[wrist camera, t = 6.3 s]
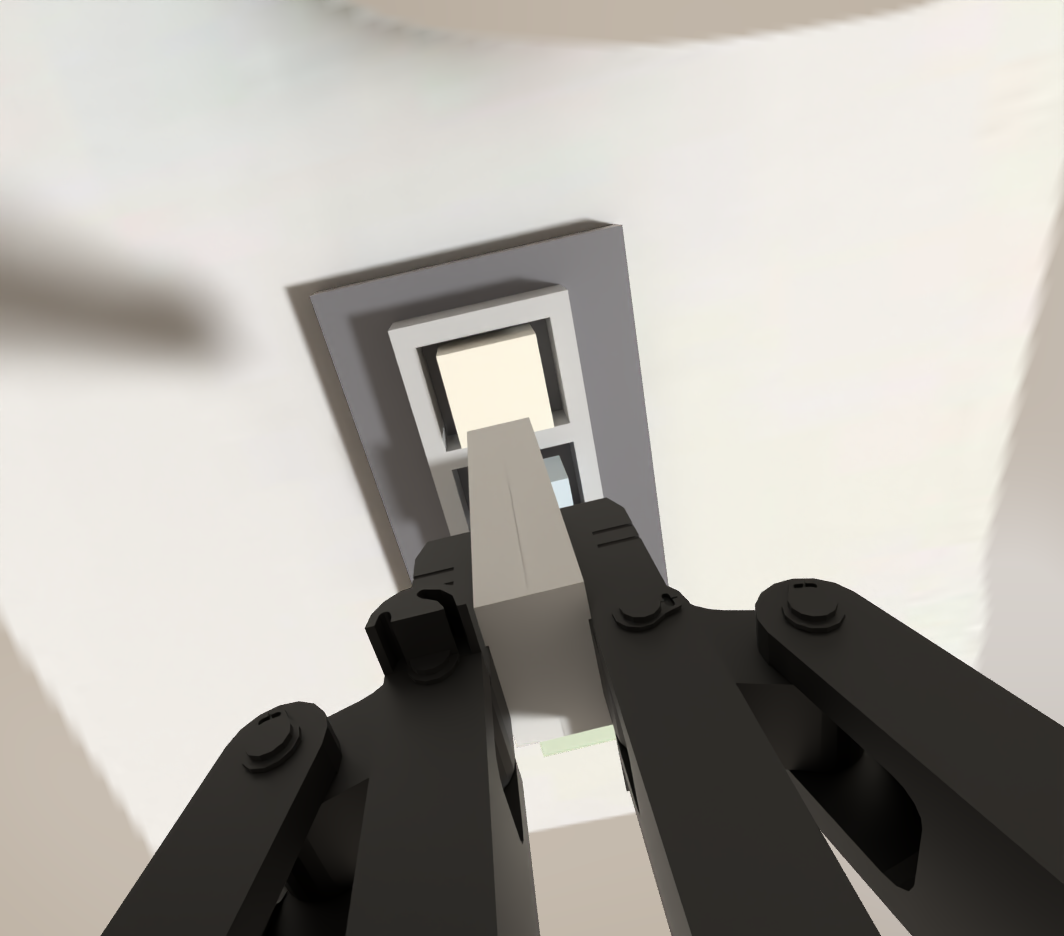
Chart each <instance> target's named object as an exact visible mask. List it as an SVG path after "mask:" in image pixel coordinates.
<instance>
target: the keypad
mask: <svg viewBox="0 0 1064 936" xmlns="http://www.w3.org/2000/svg"><path fill="white" fill-rule="evenodd" d="M310 299H311V302H312V305H313V307H314V310H315V313H316V316H317V319H318V322H319V324H320V327H321V330H322V333H323V336H324V338H325V341H326V344H327V347H328V350H329V352H330V355H331V358H332V361H333V364H334V366H335V369H336V372H337V375H338V378H339V381H340V383H341V386H342V389H343V392H344V395H345V397H346V400H347V403H348V406H349V409H350V411H351V414H352V417H353V420H354V423H355V425H356V428H357V431H358V434H359V437H360V440H361V442H362V445H363V448H364V451H365V454H366V456H367V459H368V462H369V465H370V468H371V470H372V473H373V476H374V479H375V482H376V485H377V487H378V490H379V493H380V496H381V499H382V501H383V504H384V507H385V510H386V513H387V515H388V518H389V521H390V524H391V527H392V529H393V532H394V535H395V538H396V541H397V544H398V546H399V549H400V552H401V555H402V558H403V560H404V563H405V566H406V569H407V572H408V574H409V577H410V580H411V583H412V581H413V580H414V579H413V573H414V564H415V559H416V557H417V556H418V554H419V553H420V552H421V550H422V549H423V547H424V546H425V545H426V543H427V542H428V541H432V540H437V539H441V538H445V537H449V536H453V535H458V534H462V533H466V532H470V531H471V527H470V501H469V475H468V450H467V448H463V449H462V448H461V444H460V441H459V437H458V434H457V430H456V426H455V423H454V419H453V416H452V412H451V408H450V405H449V401H448V398H447V394H446V390H445V387H444V383H443V380H442V376H441V372H440V369H439V365H438V362H437V358H436V355H437V349H438V344H440V343H444V342H448V341H453V340H457V339H462V338H466V337H470V336H475V335H479V334H483V333H488V332H492V331H496V330H501V329H505V328H509V327H514V326H518V325H522V324H527V323H529V324H530V325H531V327H532V329H533V330H534V332H535V334H536V338H537V343H538V348H539V353H540V358H541V363H542V368H543V373H544V378H545V383H546V388H547V393H548V398H549V403H550V408H551V413H552V418H553V423H554V427H553V428H549V429H545V430H540V431H536V432H534V433H535V436H536V439H537V442H538V445H539V448H540V451H541V454H542V457H543V459H545V458H549V457H553V456H558V455H559V456H560V459H561V461H562V464H563V466H564V469H565V471H566V474H567V476H568V479H569V484H570V489H571V494H572V500H573V505H576V504H580V503H584V502H589V501H593V500H597V499H601V498H606V497H607V498H609V499H610V500H612V501H614V502H615V503H617V504H619V505H621V506H622V507H624V508H625V510H626V512H627V514H628V516H629V518H630V519H631V521H632V524H633V526H634V527H635V529H636V530H637V532H638V534H639V537H640V538H641V539H642V541H643V543H644V545H645V547H646V549H647V550H648V552H649V554H650V556H651V558H652V560H653V561H654V563H655V565H656V567H657V569H658V571H659V572H660V574H661V576H662V578H663V580H664V582H665V583H666V585H667V586H668V579H667V571H666V563H665V555H664V547H663V540H662V532H661V524H660V516H659V508H658V501H657V493H656V485H655V477H654V469H653V462H652V454H651V446H650V438H649V431H648V423H647V415H646V407H645V399H644V392H643V384H642V376H641V368H640V360H639V353H638V345H637V337H636V329H635V321H634V314H633V306H632V298H631V290H630V282H629V275H628V267H627V259H626V251H625V243H624V236H623V228H622V225H617V224H614V225H609V226H605V227H601V228H596V229H592V230H587V231H583V232H579V233H574V234H570V235H565V236H561V237H557V238H552V239H548V240H543V241H539V242H535V243H530V244H526V245H521V246H517V247H513V248H508V249H504V250H499V251H495V252H491V253H486V254H482V255H477V256H473V257H469V258H464V259H460V260H455V261H451V262H447V263H442V264H438V265H433V266H429V267H425V268H420V269H416V270H411V271H407V272H403V273H398V274H394V275H389V276H385V277H381V278H376V279H372V280H367V281H363V282H359V283H354V284H350V285H345V286H341V287H337V288H332V289H328V290H323V291H319V292H316V293H314V294H312V295H310ZM512 734H513V733H512ZM513 737H514V736H513Z"/></svg>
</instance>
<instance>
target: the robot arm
mask: <svg viewBox="0 0 1064 936" xmlns="http://www.w3.org/2000/svg"><path fill="white" fill-rule="evenodd" d="M467 450H468V475H469V501H470V527H471V531H470V532H466V533H462V534H458V535H453V536H449V537H445V538H441V539H437V540H432V541H428V542H427V543H426V545H425V546H424V547H423V549H422V550H421V552H420V553H419V554H418V556H417V557H416V559H415V564H414V573H413V579H414V580H413V581H412V588H409V589H406V590H404V591H401V592H399V593H397V594H396V595H394V596H393V597H391V598H389V599H388V600H386V601H384V602H383V603H382V604H381V605H380V606H379V607H378V608H377V609H376V610H375V611H374V612H373V613H372V614H371V616H370V618H369V620H368V622H367V625H366V627H365V630H366V632H367V635H368V637H369V639H370V642H371V644H372V647H373V649H374V651H375V654H376V656H377V658H378V661H379V663H380V666H381V668H382V670H383V673H384V675H385V677H384V684H383V685H382V686H381V687H380V688H379V689H377V690H376V691H375V692H374V693H372V694H371V695H369V696H367V697H366V698H364V699H362V700H361V701H359V702H357V703H355V704H353V705H351V706H349V707H347V708H345V709H343V710H341V711H339V712H337V713H335V714H333V715H331V716H329V717H327V716H326V714H325V712H324V711H323V710H321V709H320V708H319V707H318V706H317V705H315V704H314V703H307V702H299V701H298V702H293V703H289V704H284V705H280V706H277V707H275V708H273V709H271V710H269V711H267V712H265V713H263V714H261V715H259V716H258V717H256V718H255V719H254V720H253V721H251V722H250V723H249V724H247V725H246V726H245V727H243V728H242V729H241V730H240V731H239V732H238V733H237V735H236V736H235V737H234V738H233V739H232V740H231V742H230V743H229V744H228V745H227V746H226V747H225V749H224V751H223V752H222V754H221V755H220V757H219V758H218V760H217V761H216V763H215V764H214V766H213V767H212V769H211V770H210V772H209V773H208V775H207V776H206V778H205V779H204V781H203V782H202V784H201V785H200V787H199V788H198V790H197V791H196V793H195V794H194V796H193V797H192V799H191V800H190V802H189V803H188V805H187V806H186V808H185V809H184V811H183V812H182V814H181V815H180V817H179V818H178V820H177V821H176V823H175V824H174V826H173V827H172V829H171V830H170V832H169V833H168V835H167V836H166V838H165V839H164V841H163V842H162V844H161V846H160V847H159V849H158V850H157V852H156V853H155V855H154V856H153V858H152V859H151V861H150V862H149V864H148V866H147V867H146V868H145V870H144V871H143V873H142V874H141V876H140V877H139V879H138V880H137V882H136V883H135V885H134V886H133V888H132V889H131V891H130V892H129V894H128V895H127V897H126V898H125V900H124V901H123V903H122V904H121V906H120V908H119V909H118V910H117V912H116V914H115V915H114V916H113V918H112V919H111V921H110V923H109V924H108V926H107V927H106V929H105V930H104V931H103V933H102V935H101V936H540V931H539V922H538V913H537V905H536V897H535V887H534V879H533V870H532V861H531V852H530V844H529V835H528V826H527V817H526V809H525V800H524V791H523V782H522V778H521V775H520V772H519V769H518V766H517V763H516V759H515V753H514V744H513V736H514V740H515V743H516V746H517V748H519V747H523V746H527V745H531V744H535V743H539V742H543V741H547V740H551V739H555V738H560V737H564V736H568V735H572V734H576V733H580V732H584V731H588V730H592V729H596V728H600V727H604V726H608V725H613V727H614V731H615V735H616V740H617V745H618V750H619V755H620V760H621V765H622V770H623V775H624V780H625V785H626V790H627V791H630V794H631V797H632V801H633V804H634V808H635V811H636V814H637V818H638V821H639V825H640V828H641V831H642V835H643V839H644V842H645V845H646V849H647V852H648V856H649V859H650V863H651V866H652V870H653V873H654V877H655V880H656V883H657V887H658V890H659V894H660V897H661V901H662V904H663V908H664V911H665V915H666V918H667V922H668V925H669V929H670V932H671V935H672V936H881V935H880V933H879V932H878V930H877V928H876V926H875V925H874V923H873V921H872V919H871V918H870V916H869V914H868V913H867V911H866V909H865V907H864V905H863V904H862V902H861V900H860V899H859V897H858V895H857V893H856V892H855V890H854V888H853V886H852V885H851V883H850V881H849V880H848V878H847V876H846V874H845V872H844V871H843V869H842V867H841V866H840V864H839V862H838V860H837V859H836V857H835V855H834V853H833V852H832V850H831V848H830V846H829V845H828V843H827V841H826V839H825V838H824V836H823V834H824V835H825V836H826V837H827V838H828V840H829V841H830V842H831V843H832V844H833V845H834V846H835V847H836V849H837V850H838V851H839V852H840V853H841V855H842V856H843V857H844V858H845V859H846V860H847V861H848V863H849V864H850V865H851V866H852V867H853V868H854V870H855V871H856V872H857V873H858V874H859V875H860V876H861V878H862V879H863V880H864V881H865V882H866V883H867V884H868V886H869V887H870V888H871V889H872V890H873V891H874V892H875V894H876V895H877V896H878V897H879V898H880V899H881V900H882V902H883V903H884V904H885V905H886V906H887V907H888V909H889V910H890V911H891V912H892V913H893V914H894V915H895V916H896V918H897V919H898V920H899V921H900V922H901V924H902V925H903V926H904V927H905V928H906V929H907V930H908V931H909V933H910V934H911V935H912V936H1064V727H1063V726H1062V725H1060V724H1058V723H1057V722H1055V721H1054V720H1052V719H1051V718H1049V717H1048V716H1046V715H1044V714H1043V713H1041V712H1040V711H1038V710H1037V709H1035V708H1034V707H1032V706H1031V705H1029V704H1027V703H1026V702H1024V701H1023V700H1021V699H1020V698H1018V697H1016V696H1015V695H1013V694H1012V693H1010V692H1009V691H1007V690H1006V689H1004V688H1003V687H1001V686H1000V685H998V684H996V683H995V682H993V681H992V680H990V679H988V678H987V677H985V676H984V675H982V674H981V673H979V672H978V671H976V670H975V669H973V668H972V667H970V666H968V665H967V664H965V663H964V662H962V661H961V660H959V659H958V658H956V657H955V656H953V655H951V654H950V653H948V652H947V651H945V650H944V649H942V648H941V647H939V646H937V645H936V644H934V643H933V642H931V641H930V640H928V639H927V638H925V637H924V636H922V635H920V634H919V633H917V632H916V631H914V630H913V629H911V628H910V627H908V626H906V625H905V624H903V623H902V622H900V621H899V620H897V619H896V618H894V617H892V616H891V615H889V614H888V613H886V612H885V611H883V610H882V609H880V608H879V607H877V606H875V605H874V604H872V603H871V602H869V601H868V600H866V599H865V598H863V597H861V596H860V595H858V594H857V593H855V592H854V591H851V590H849V589H847V588H845V587H843V586H841V585H839V584H836V583H833V582H828V581H823V580H819V579H814V578H812V579H790V580H786V581H783V582H779V583H775V584H773V585H772V586H770V587H769V588H767V589H766V590H765V591H763V592H762V593H761V594H760V596H759V598H758V600H757V602H756V604H755V610H713V609H706V608H702V607H698V606H694V605H692V604H690V603H689V601H688V600H687V599H686V598H685V597H684V596H683V595H682V594H681V593H680V592H679V591H677V590H675V589H673V588H671V587H669V586H667V585H666V583H665V582H664V580H663V578H662V576H661V574H660V572H659V571H658V569H657V567H656V565H655V563H654V561H653V560H652V558H651V556H650V554H649V552H648V550H647V549H646V547H645V545H644V543H643V541H642V539H641V538H640V537H639V534H638V532H637V530H636V529H635V527H634V526H633V524H632V521H631V519H630V518H629V516H628V514H627V512H626V510H625V508H624V507H622V506H621V505H619V504H617V503H615V502H614V501H612V500H610V499H609V498H607V497H606V498H601V499H597V500H593V501H589V502H584V503H580V504H576V505H572V506H568V507H563V508H559V505H558V502H557V499H556V496H555V493H554V490H553V487H552V484H551V481H550V478H549V475H548V472H547V469H546V466H545V463H544V460H543V457H542V454H541V451H540V448H539V445H538V442H537V439H536V436H535V433H534V430H533V427H532V424H531V421H530V418H529V417H527V418H523V419H519V420H514V421H510V422H506V423H501V424H497V425H493V426H489V427H484V428H480V429H476V430H471V431H467ZM512 733H513V734H512ZM820 830H821V831H820ZM821 832H822V833H823V834H822V833H821Z"/></svg>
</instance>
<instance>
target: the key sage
mask: <svg viewBox="0 0 1064 936" xmlns="http://www.w3.org/2000/svg"><path fill="white" fill-rule="evenodd" d="M612 740H616V735H615V731H614V727H613V725H608V726H604V727H600V728H596V729H592V730H588V731H584V732H580V733H576V734H572V735H568V736H564V737H560V738H555V739H551V740H547V741H543V742H540V746H541V749H542V753H543V756H544V757H546V756H550V755H555V754H559V753H563V752H567V751H571V750H575V749H579V748H583V747H588V746H592V745H596V744H600V743H604V742H608V741H612Z"/></svg>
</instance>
